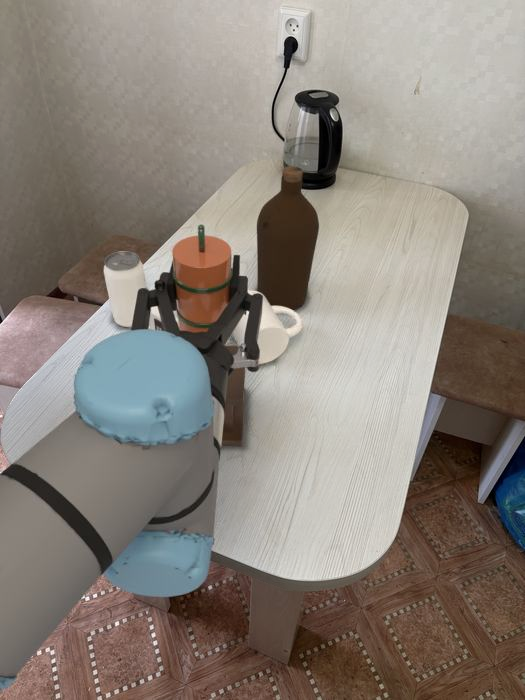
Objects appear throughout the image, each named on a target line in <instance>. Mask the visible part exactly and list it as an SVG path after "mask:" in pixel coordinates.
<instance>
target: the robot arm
mask: <svg viewBox="0 0 525 700" xmlns="http://www.w3.org/2000/svg"><path fill="white" fill-rule="evenodd" d="M231 268H232V271H233V277H232V280H231V285H230V302H229V303H228V305H227V306H226V308H225V309H224V311H223V312H222V314H221V315H220V317H219V318H218V320H217V321H216V323H212V325H211V326H210V328H209V329H208V331H207V332H195V333H194V332H189V331H180V330H179V327H178V323H177V321H176V319H175V316H174V312H173V309H172V306H171V303H175V301H176V289H175V281H174V279H173V269H174V266H173V260H171V265H170V270H169V271H167V272H166V271H162V272H161V274H160V275H159V279H156V280H155V281H154V289H151V290H149V289H148V288H141V289H139V290H138V293H137V299H136V304H135V310H134V316H133V321H132V327H131V328H130V330H127V331H123V332H119V333H116V334H113V335H110V336H108V337H106V338H104V339H103V340H101V341H100V342H98V343H96V344H95V345H94V346H93V347H91V348H90V349H89V350H88V351H87V352H86V353H85V355H84V357H83V359H82V360H81V361H80V365H79V366H78V367H77V370H76V372H75V374H74V378H73V390H74V394H73V404H74V406H75V411H74V412H73V413H72V414H70V415H69V416H68V417H67V418H66V419H64V420H63V421H61V422H60V424H58V425H57V426H56V427H54V428H53V429H52V430H51V431H49V433H47V434H46V435H45V436H44V437H43V438H42V439H40V440H39V441H38V442H37V443H35V444H34V445H33V446H31V448H29V449H28V450H27V451H26V452H25V453H23V454H22V455H21V456H20V457H19V458H18V459H16V460H15V461H14V462H13V463H12V464H10V465H9V466H7V467H6V468H5V469H4V470H2V471H1V472H0V692H2V691H3V690H5V689H8V688H9V687H10V686H11V685H13V684H14V683H15V681H16V680H17V678H18V674H19V673H20V672H21V671H22V669H23V668H24V667H25V666H26V665H27V663H28V662H29V661H30V660H31V659H32V658H33V657H34V655H35V654H36V653H37V652H38V650H39V649H40V648H41V647H42V646H43V644H45V642H46V641H47V640H48V639H49V637H50V636H51V635H52V634H53V633H54V632H55V631H56V629H57V628H58V627H59V625H60V624H61V623H63V621H64V620H65V619H66V617H67V616H68V615H69V614H70V612H71V611H72V610H73V609H74V608H75V607H76V605H77V604H78V603H79V602H80V601H81V600H82V598H83V597H84V596H85V595H86V593H88V591H89V590H90V589H91V588H92V586H93V585H94V584H95V583H96V582H97V580H98V579H99V578H100V577H101V576H104V577H105V579H106V580H107V581H108V582H109V583H111V584H112V585H113V586H114V587H116V588H118V589H120V590H123V591H124V592H128V593H130V594H134V595H139V596H143V597H152V598H153V597H155V598H157V597H158V598H170V597H171V598H172V597H176V596H177V597H179V596H182V595H187V594H189V593H191V592H193V591H196V590H197V589H198V588H200V587H201V586H202V585H203V584H204V583H205V581H206V579H207V578H208V576H209V570H210V564H211V557H212V549H213V546H214V545H215V537H214V533H215V532H214V531H215V530H214V529H215V519H216V508H217V497H218V484H219V483H218V482H219V469H220V468H219V466H220V460H221V452H222V451H221V450H222V445H221V444H222V434H223V423H224V410H225V402H226V392H227V381H228V377H229V376H230V375H231V374H232V372H233V370H234V369H236V368H243V367H246V369H247V371H248V372H251V373H256V372H258V371H259V369H260V364H259V358H260V349H259V346H258V344H257V340H258V335H259V329H260V323H261V317H262V305H263V296H262V295H261V294H259V293H256V294H253V295H250V294H249V293H248V290H249V289H248V288H249V278H248V276H247V275H240V270H241V255H240V254H233V259H232V266H231ZM155 306H157V307H158V311H159V314H160V318H161V322H162V326H163V329H164V331H160V330H152V329H150V327H149V320H150V313H151V307H155ZM246 311H249V315H248V320H247V325H246V330H245V335H244V343H243V344H241V347H239V348H238V351H237V353H236V354H235V355H232V354H231V353H230V352H229V351H228V350H227V349H226V347H225V346H226V344H227V342H228V341H229V339H230V337H231V336H232V332H233V331H234V329H235V328H236V326H237V324H238V323H239V321H240V319H241V318H242V316H243V315H244V314H245V315H246Z"/></svg>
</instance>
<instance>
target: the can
mask: <svg viewBox="0 0 525 700" xmlns="http://www.w3.org/2000/svg"><path fill="white" fill-rule="evenodd" d="M103 263H104V266H103V276H104V282H105V285H106V290H107V295H108V299H109V305H110V309H111V314H112V318H113V321H114V323H116V324H117V325H119V326H120V327H123V328H128V329H129V328H130V329H131V327H132V321H133V316H134V310H135V304H136V299H137V293H138V290H139V289H141V288H147V281H146V273H145V268H144V263H142V261H141V259H140V255H138V254H137V253H136V252H134V251H129V250H118V251H115V252H113V253H110V254H109V255H107V256H106V257H105V259H104V262H103ZM147 289H148V288H147Z"/></svg>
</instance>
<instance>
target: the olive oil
mask: <svg viewBox="0 0 525 700" xmlns="http://www.w3.org/2000/svg"><path fill="white" fill-rule="evenodd" d="M303 174H304V170H303V169H302V168H301V167H299V166H295V165H289V166H285V167H283V169H282V176H281V179H280V180H281V181H280V191H279V192H278V193H276V194H275V195H274V196H273V197H271V198H270V199H269V200H268V201H266V203H265V204H264V205H263V206H262V208H261V209H260V211H259V214H258V216H257V221H256V255H257V256H256V260H257V261H256V264H257V265H256V266H257V267H256V268H257V270H256V271H257V277H256V278H257V283H256V291H258V292H260V293H262V294H263V295H264V296H265V297H266V299H267V301H268V302H269V304H270V305H271V306H283V307H287V308H289V309H291V310H293V311H295V310H297V309H299V308H301V307H303V305H304V304H305V303H306V300H307V295H308V291H309V284H310V277H311V271H312V268H313V263H314V256H315V252H316V247H317V241H318V236H319V231H320V222H319V216H318V212H317V210H316V208H315V207H314V205H313V204H312V203H311V202H310V201H309V199H308V198H307V197H305V195H304V194H303V193H302V187H303Z"/></svg>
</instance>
